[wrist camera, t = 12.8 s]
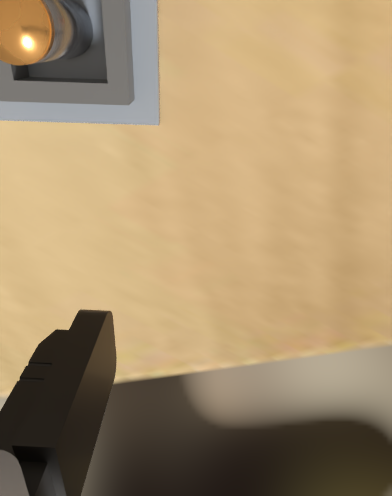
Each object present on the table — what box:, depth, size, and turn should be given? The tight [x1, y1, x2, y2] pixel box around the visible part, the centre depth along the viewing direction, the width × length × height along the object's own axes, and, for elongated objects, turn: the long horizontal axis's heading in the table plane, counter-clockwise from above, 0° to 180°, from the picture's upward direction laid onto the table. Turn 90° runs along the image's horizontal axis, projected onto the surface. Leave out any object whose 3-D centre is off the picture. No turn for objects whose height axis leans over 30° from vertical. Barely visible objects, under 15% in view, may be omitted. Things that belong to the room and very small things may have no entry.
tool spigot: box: [0, 0, 93, 65], centre depth 25 cm, size 4×4×10 cm
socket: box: [0, 0, 160, 125], centre depth 28 cm, size 14×14×4 cm
